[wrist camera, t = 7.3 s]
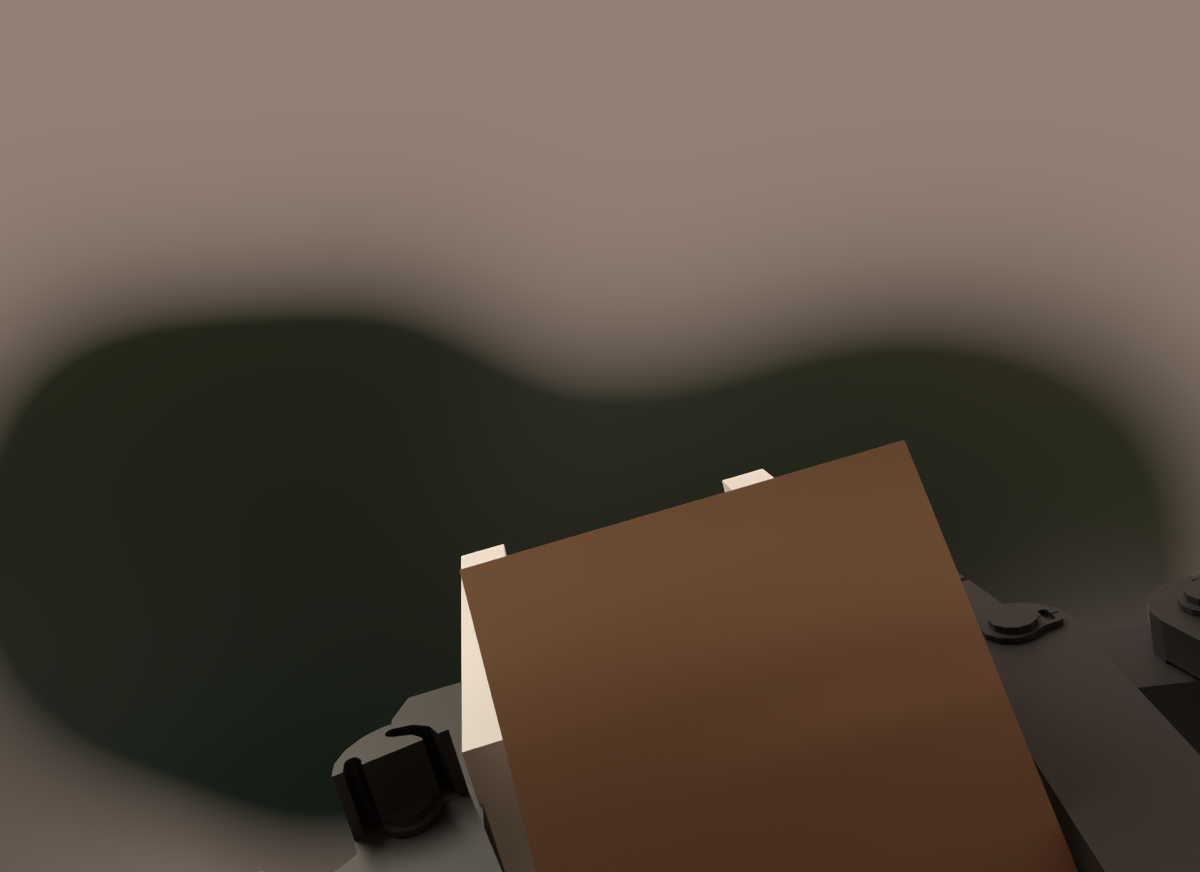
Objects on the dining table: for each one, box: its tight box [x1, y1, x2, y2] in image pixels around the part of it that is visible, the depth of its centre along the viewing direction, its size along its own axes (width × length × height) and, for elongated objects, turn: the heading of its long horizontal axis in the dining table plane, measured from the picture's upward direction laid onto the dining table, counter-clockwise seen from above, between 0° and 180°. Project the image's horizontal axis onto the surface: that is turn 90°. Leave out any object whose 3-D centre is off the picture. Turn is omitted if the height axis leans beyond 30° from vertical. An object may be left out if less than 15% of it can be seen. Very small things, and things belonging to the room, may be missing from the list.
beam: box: [460, 440, 1078, 872], centre depth 22 cm, size 30×4×4 cm, turn 0°
